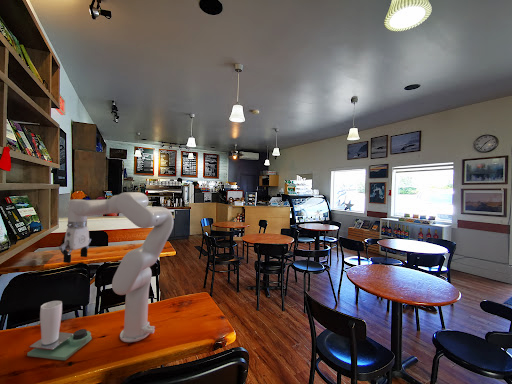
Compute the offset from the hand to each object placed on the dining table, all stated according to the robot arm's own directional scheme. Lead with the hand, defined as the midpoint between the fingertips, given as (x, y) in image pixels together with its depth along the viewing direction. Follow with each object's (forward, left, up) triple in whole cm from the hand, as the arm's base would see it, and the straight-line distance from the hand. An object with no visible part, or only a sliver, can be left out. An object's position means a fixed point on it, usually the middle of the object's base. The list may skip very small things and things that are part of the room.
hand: (75, 259), depth 115 cm
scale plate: (-8, +18, -27) cm, 34 cm away
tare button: (-16, +14, -28) cm, 35 cm away
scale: (-11, +17, -30) cm, 37 cm away
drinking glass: (-8, +19, -27) cm, 34 cm away
